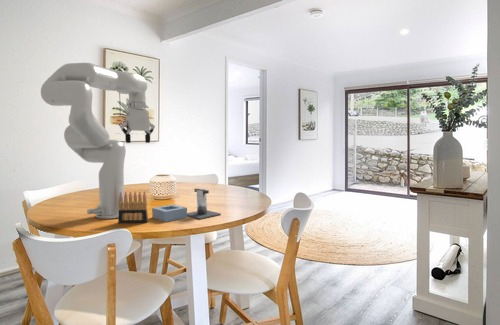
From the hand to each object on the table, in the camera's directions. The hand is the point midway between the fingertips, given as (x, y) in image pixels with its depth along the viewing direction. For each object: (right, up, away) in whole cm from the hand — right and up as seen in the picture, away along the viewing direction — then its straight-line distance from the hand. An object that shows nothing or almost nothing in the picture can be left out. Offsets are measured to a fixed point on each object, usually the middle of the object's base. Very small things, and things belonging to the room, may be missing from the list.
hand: (138, 142), depth 151 cm
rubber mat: (+34, -32, -18) cm, 49 cm away
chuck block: (+21, -32, -22) cm, 44 cm away
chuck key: (+33, -31, -18) cm, 49 cm away
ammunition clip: (+9, -33, -30) cm, 45 cm away
